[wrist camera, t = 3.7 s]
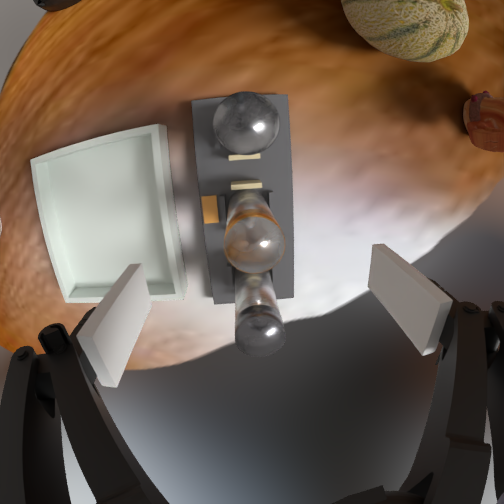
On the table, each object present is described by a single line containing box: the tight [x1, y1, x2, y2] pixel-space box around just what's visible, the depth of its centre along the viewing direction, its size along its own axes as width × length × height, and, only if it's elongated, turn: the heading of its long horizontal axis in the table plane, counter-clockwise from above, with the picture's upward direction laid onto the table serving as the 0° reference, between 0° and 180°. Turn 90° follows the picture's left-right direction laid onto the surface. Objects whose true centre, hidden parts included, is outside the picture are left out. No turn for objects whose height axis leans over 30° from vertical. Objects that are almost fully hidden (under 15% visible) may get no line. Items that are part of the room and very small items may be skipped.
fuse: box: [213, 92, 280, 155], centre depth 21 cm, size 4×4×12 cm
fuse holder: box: [191, 95, 294, 304], centre depth 29 cm, size 10×24×4 cm, turn 4°
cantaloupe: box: [341, 0, 469, 62], centre depth 15 cm, size 15×15×15 cm
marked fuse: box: [224, 189, 285, 274], centre depth 24 cm, size 4×4×12 cm
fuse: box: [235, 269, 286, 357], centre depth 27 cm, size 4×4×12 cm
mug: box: [463, 91, 504, 152], centre depth 20 cm, size 15×8×15 cm, turn 119°
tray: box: [31, 124, 188, 303], centre depth 29 cm, size 18×20×4 cm
